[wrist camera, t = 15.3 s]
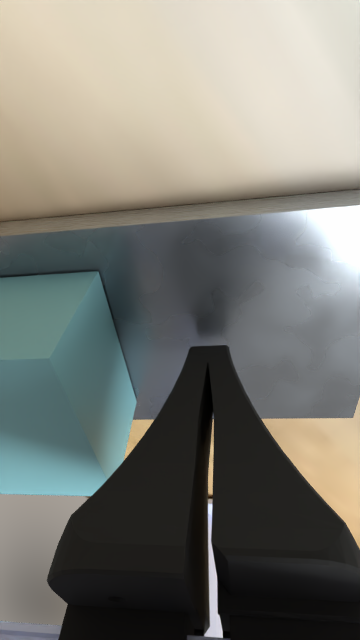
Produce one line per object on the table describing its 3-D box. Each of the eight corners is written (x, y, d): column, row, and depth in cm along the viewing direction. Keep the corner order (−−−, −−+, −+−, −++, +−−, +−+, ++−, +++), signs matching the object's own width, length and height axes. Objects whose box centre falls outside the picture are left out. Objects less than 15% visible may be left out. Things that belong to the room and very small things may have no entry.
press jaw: (136, 401, 16) (115, 496, 12) (38, 403, 16) (-10, 493, 13) (98, 271, 12) (49, 358, 8) (-32, 280, 12) (-129, 364, 9)
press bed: (342, 392, 17) (378, 481, 13) (-113, 400, 20) (-183, 472, 16) (397, 185, 11) (492, 244, 7) (-263, 246, 14) (-426, 306, 10)
